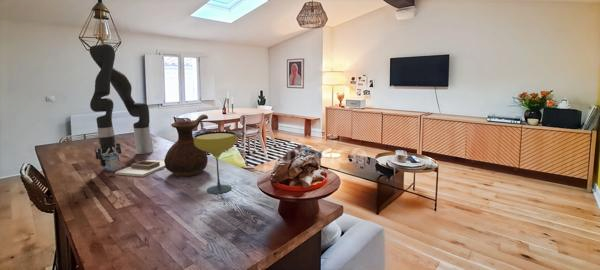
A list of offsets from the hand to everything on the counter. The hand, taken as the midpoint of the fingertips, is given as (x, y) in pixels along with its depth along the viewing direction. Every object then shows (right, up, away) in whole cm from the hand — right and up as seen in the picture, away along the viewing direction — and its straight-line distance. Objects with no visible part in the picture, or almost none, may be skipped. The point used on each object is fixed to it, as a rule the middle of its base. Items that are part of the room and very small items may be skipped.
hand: (110, 164), depth 178 cm
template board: (+19, -3, +1) cm, 19 cm away
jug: (+46, -4, -8) cm, 46 cm away
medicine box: (0, -3, +1) cm, 4 cm away
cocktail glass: (+68, -9, -33) cm, 76 cm away
